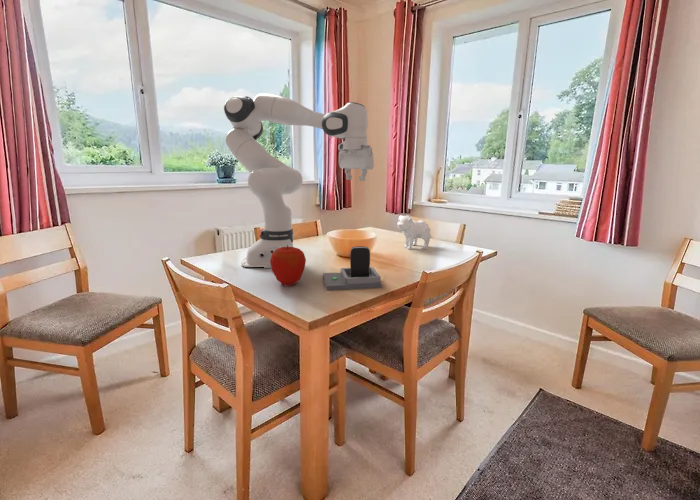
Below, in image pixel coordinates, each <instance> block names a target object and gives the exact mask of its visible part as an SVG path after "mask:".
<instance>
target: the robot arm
mask: <svg viewBox="0 0 700 500" xmlns="http://www.w3.org/2000/svg"><path fill="white" fill-rule="evenodd" d="M223 111H224V114H225V116H226V118H227V120H229V122H230V124H231V125H232V129H231V130H229V131H228V133H226V136H225V144H226V146H227V148H228V149H229V151H230V152H231V154H232V155H233V156H234V158H235V159H236V161H238V162H239V163H240V164H241V165H242V166H243V167H244V168H245V169H246V171H247V172H249V175H248V178H247V185H248V188H249V190H250V191H251V193H252V194H253V195H255V196H256V198H257V200H258V201H259V203H260V205H261V208H262V213H263V222H264V228H260V229H259V231H258V232H259V239H258V240H257V241H255V242H254V243H253V244H251V245H250V246H249V248H247V252H246V257H244V258H243V259H242V261H241V264H242V265H241V267H243V266H244V267H243V268H245V267H264V268H263V269H272V268H271V263H270V260H271V256H272V253H273V252H274V251H275V250H276V249H278V248H281V247H287V245H288V247H294V229H293V226H292V225H293V223H292V210H291V208H289V206H287V205H286V203H285V202H284V199H283V197H284V196H285V195H291V194H294V193H295V192H298V191H299V190H300V189H301V188H302V186H303V176H302V174H301V173H300V171H299V170H298V169H295V168H293V167H291V166H289V165H287V164H286V163H284V162H282V161H281V160H279V158H276V157H275V156H273V155H272V154H271V153H269V152H268V151H267V150H266V149H265V148H264V147H263V146H262V145H261V144H260V143H259V142H258V141H257V140H258V139H260V137H261V136H262V134H263V132H264V127H263V123H262V122H263V121H264V122H265V121H266V122H267V121H268V122H271V123H275V124H279V125H283V126H307V127H313V128H317V129H320V130H322V131H323V132H324V134H326V135H327V136H330V137H332V138H336V139H340V140H344V141H342V143H340V144H338V147H337V148H338V151H339V152H338V166H339V169H344V173H345V175H346V176H345V177H346V180H348V181H350V180H352V179H353V178H352V176H353V175H351V171H352V170H360V172H361V174H360V176H359V177H358V178H359V179H358V180H359V181H360V182H365V181H366V176H367V173H368V170H373V169H374V168H375V162H374V161H375V160H374V159H375V157H374V153H373V148H372V147H371V145H370V144H368V134H367V130H368V109H367V108H366V106H365V105H363V104H361V103H358V102H355V101H354V102H352V101H350V102H347V103H346V104H345V105H344V106H342V107H340V108H339V109H338V108H337V110H336V109H335V110H333V111H329V112H327V113H326V114H325V113H322V112H318V111H314V110H312V109H310V108H308V107H306V106H304V105H303V104H301V103H299V102H297V101H296V100H293V99H291V98H289V97H286V96H283V95H280V94H274V93H266V92H265V93H258V94H257V95H256V96H255V97H254V98H253V99H252V98H251V97H250V96H240V95H236V96H232V97H230V98H228V99H227V100H226V101H225V103H224V105H223Z"/></svg>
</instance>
